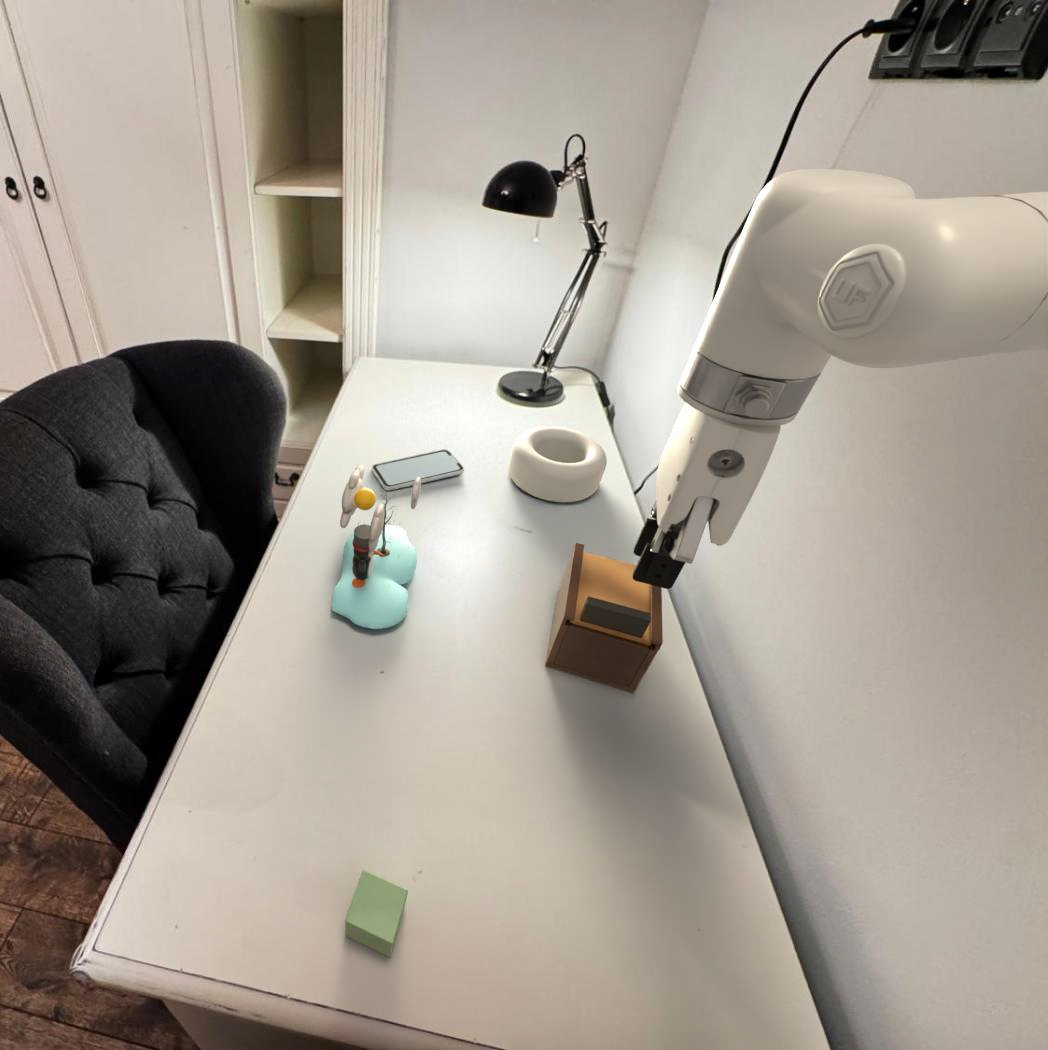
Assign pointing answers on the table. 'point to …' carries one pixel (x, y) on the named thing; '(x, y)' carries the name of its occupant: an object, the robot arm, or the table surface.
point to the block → (375, 913)
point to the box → (599, 638)
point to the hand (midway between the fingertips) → (651, 568)
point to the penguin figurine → (374, 561)
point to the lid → (613, 599)
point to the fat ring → (557, 464)
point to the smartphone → (417, 469)
